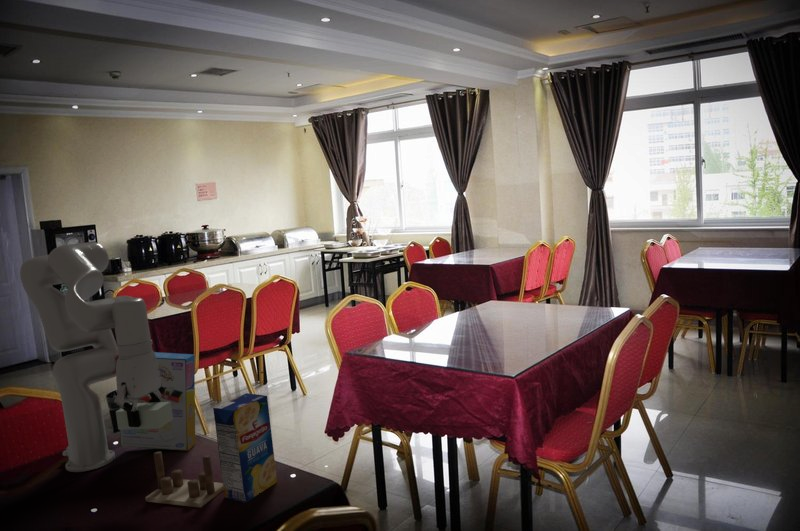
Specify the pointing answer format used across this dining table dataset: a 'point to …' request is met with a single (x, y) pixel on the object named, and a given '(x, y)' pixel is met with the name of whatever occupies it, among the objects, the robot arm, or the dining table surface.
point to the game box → (182, 403)
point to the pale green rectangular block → (147, 415)
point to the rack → (184, 486)
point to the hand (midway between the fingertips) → (146, 420)
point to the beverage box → (245, 446)
